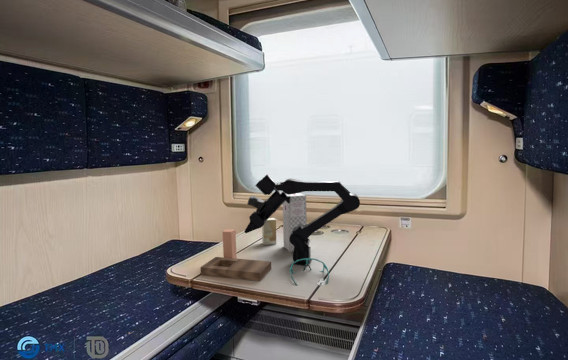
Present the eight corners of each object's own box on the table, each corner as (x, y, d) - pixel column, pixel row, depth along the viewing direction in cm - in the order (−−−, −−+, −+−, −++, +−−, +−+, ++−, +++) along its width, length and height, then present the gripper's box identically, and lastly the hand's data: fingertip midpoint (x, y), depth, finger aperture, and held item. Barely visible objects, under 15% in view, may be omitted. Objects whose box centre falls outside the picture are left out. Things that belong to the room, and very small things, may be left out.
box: (289, 251, 155) (288, 196, 152) (283, 246, 163) (282, 194, 160) (307, 249, 158) (306, 195, 155) (300, 244, 166) (299, 192, 163)
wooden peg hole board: (271, 268, 135) (271, 261, 134) (260, 281, 123) (260, 272, 123) (216, 263, 142) (215, 256, 141) (200, 274, 130) (200, 267, 130)
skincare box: (264, 245, 166) (263, 220, 164) (262, 242, 170) (261, 218, 168) (277, 244, 167) (276, 219, 166) (274, 241, 171) (274, 217, 170)
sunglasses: (325, 269, 134) (325, 257, 133) (331, 289, 119) (331, 276, 118) (289, 270, 133) (288, 258, 132) (291, 290, 119) (290, 277, 118)
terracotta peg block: (236, 259, 147) (235, 229, 145) (232, 262, 143) (231, 231, 141) (228, 258, 148) (226, 229, 146) (223, 261, 144) (222, 231, 142)
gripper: (263, 186, 149) (239, 211, 152) (254, 192, 131) (227, 221, 134) (282, 204, 149) (257, 229, 152) (275, 213, 131) (247, 241, 133)
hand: (247, 229), depth 143 cm, fingers open, 9 cm apart
